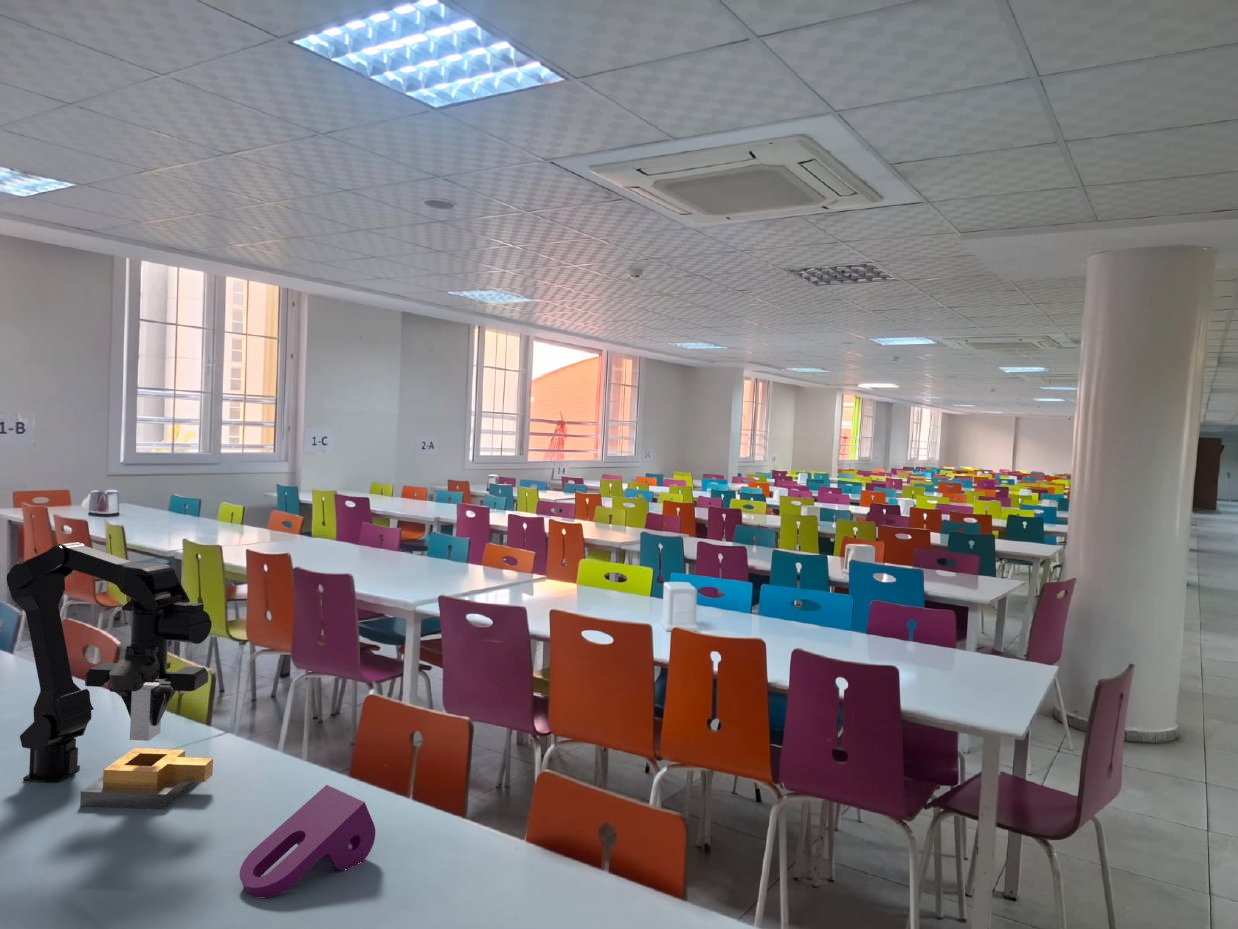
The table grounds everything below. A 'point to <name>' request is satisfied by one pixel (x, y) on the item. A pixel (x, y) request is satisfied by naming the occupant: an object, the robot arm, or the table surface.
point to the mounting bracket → (311, 842)
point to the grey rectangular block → (143, 713)
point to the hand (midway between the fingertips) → (145, 724)
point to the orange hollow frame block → (146, 779)
